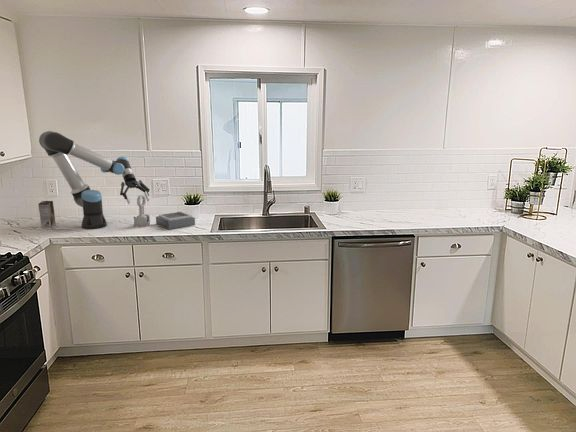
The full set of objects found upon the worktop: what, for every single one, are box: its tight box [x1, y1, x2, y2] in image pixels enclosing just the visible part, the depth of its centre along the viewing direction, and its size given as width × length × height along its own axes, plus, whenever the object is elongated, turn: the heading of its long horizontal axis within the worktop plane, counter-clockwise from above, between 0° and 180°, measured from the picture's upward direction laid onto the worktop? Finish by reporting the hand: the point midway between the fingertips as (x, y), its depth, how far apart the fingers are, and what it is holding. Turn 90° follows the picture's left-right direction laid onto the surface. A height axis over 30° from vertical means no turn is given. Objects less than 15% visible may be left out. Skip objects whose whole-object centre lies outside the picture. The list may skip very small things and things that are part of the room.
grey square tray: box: [155, 211, 196, 230], centre depth 290 cm, size 19×19×6 cm
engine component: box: [133, 194, 151, 228], centre depth 285 cm, size 11×20×10 cm
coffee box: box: [37, 200, 56, 229], centre depth 280 cm, size 9×6×16 cm
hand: (138, 201), depth 291 cm, fingers open, 13 cm apart
